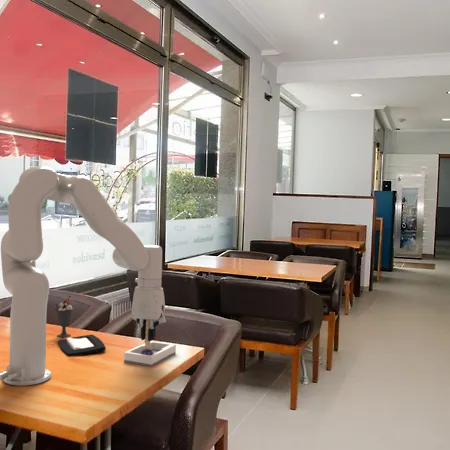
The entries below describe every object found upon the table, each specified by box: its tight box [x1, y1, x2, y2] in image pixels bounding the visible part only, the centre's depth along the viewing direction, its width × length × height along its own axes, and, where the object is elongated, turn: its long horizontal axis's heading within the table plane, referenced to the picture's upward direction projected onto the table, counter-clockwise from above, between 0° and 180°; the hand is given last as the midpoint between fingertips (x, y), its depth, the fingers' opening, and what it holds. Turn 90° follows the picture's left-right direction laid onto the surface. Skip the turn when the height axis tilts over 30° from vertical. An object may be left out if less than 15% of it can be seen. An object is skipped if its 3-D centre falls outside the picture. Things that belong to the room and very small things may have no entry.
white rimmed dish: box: [123, 340, 177, 367], centre depth 171 cm, size 16×10×3 cm, turn 158°
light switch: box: [57, 334, 107, 357], centre depth 180 cm, size 20×3×14 cm
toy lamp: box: [141, 319, 153, 356], centre depth 169 cm, size 5×5×17 cm
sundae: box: [54, 295, 75, 339], centre depth 194 cm, size 7×7×15 cm
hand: (148, 339), depth 169 cm, fingers closed on toy lamp
